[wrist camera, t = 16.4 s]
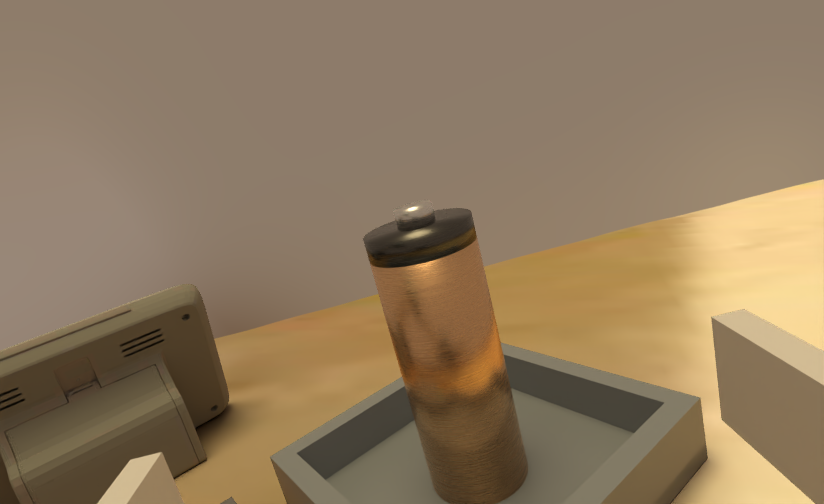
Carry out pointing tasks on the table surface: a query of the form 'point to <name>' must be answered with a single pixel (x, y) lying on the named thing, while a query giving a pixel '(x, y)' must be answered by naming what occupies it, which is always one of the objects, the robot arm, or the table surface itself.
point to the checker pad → (229, 501)
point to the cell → (449, 351)
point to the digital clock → (107, 398)
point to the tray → (541, 433)
